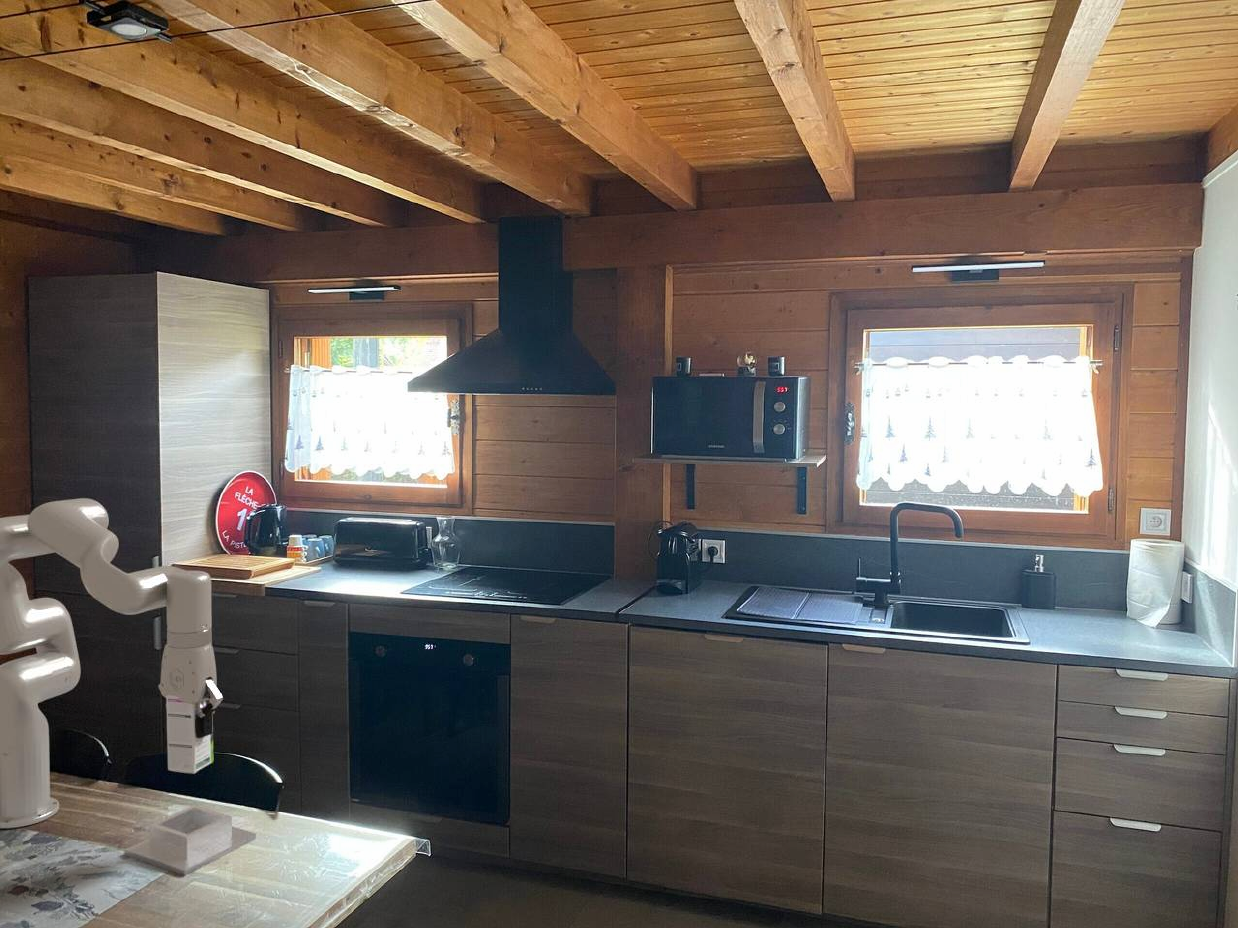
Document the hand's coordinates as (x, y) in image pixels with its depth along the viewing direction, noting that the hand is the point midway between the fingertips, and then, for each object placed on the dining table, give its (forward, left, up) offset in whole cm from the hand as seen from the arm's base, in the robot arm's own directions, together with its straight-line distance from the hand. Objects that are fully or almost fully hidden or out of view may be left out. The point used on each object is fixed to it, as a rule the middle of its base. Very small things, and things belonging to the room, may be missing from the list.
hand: (190, 731), depth 175 cm
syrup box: (0, 0, -7) cm, 7 cm away
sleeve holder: (0, 0, -22) cm, 22 cm away
